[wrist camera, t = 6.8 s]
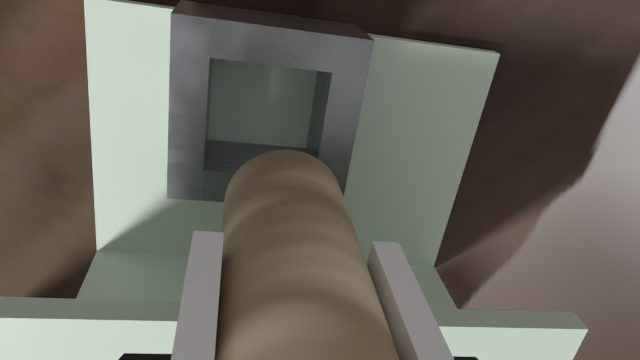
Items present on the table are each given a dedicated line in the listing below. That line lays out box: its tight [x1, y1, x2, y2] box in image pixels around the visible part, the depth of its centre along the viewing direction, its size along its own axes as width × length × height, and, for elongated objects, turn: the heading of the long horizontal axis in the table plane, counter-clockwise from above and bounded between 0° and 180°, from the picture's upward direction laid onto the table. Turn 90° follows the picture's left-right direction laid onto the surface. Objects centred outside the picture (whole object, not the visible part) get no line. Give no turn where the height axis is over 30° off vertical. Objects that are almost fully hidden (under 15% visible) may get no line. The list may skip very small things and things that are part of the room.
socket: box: [167, 0, 375, 202], centre depth 26 cm, size 9×9×4 cm
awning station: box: [0, 0, 588, 360], centre depth 24 cm, size 22×16×14 cm
